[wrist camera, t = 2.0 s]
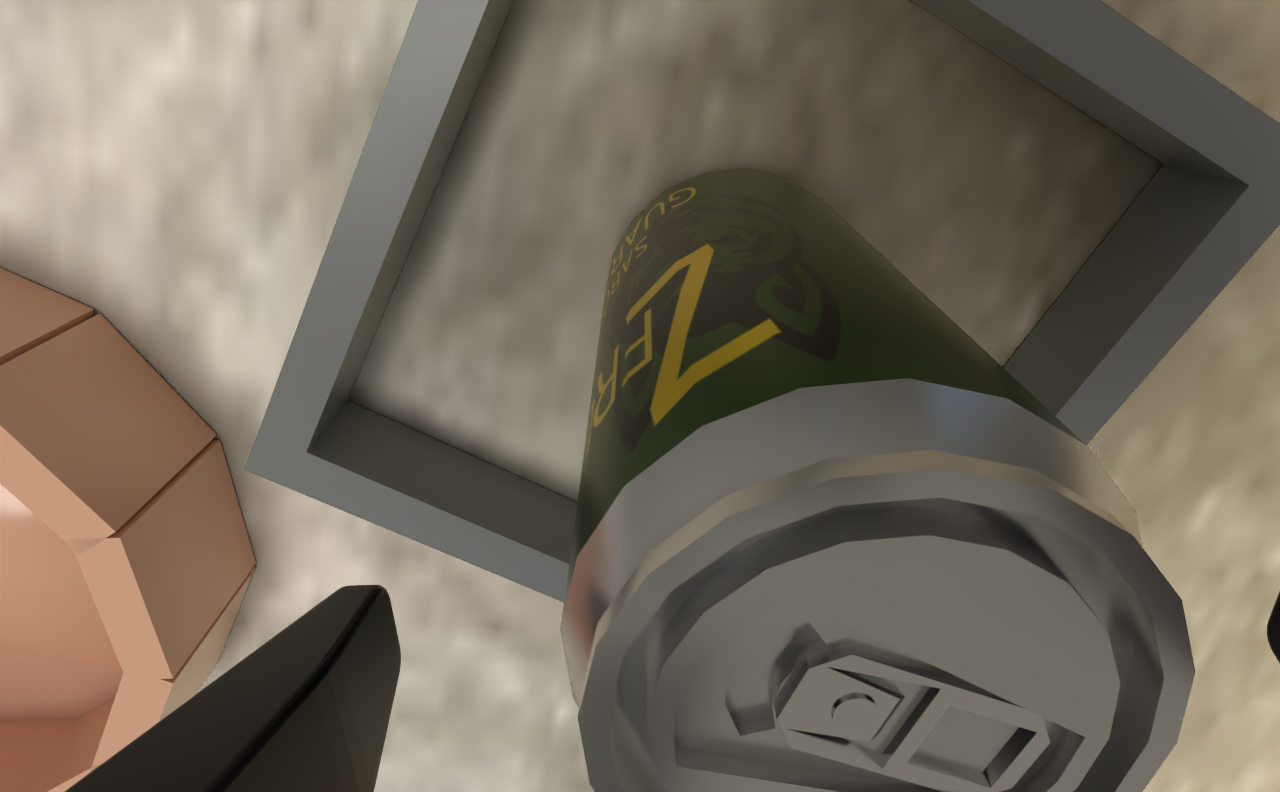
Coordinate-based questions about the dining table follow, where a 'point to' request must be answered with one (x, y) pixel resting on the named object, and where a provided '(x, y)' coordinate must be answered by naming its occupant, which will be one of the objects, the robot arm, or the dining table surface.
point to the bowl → (101, 542)
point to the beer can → (842, 534)
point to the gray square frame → (1044, 365)
